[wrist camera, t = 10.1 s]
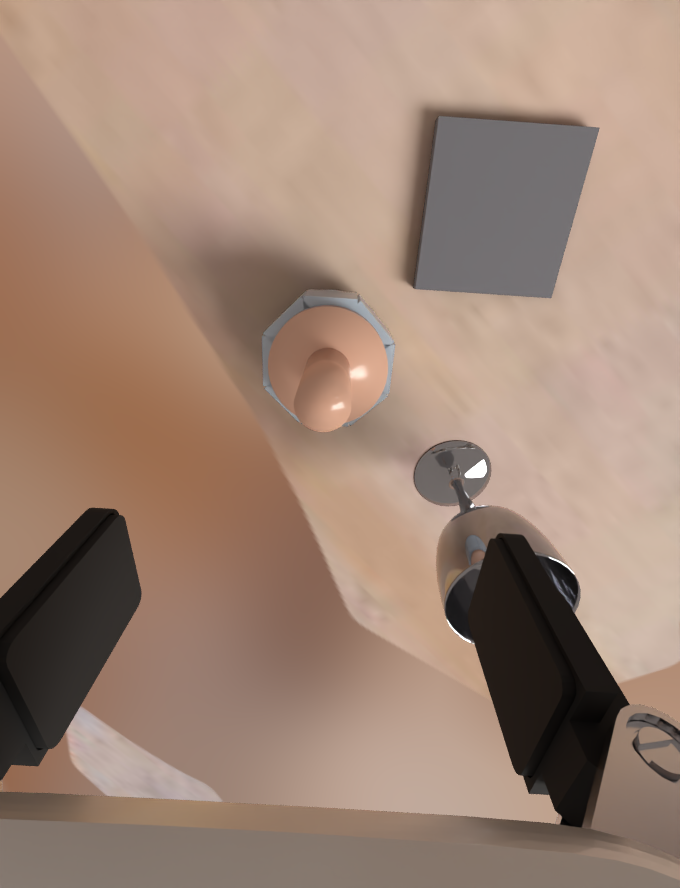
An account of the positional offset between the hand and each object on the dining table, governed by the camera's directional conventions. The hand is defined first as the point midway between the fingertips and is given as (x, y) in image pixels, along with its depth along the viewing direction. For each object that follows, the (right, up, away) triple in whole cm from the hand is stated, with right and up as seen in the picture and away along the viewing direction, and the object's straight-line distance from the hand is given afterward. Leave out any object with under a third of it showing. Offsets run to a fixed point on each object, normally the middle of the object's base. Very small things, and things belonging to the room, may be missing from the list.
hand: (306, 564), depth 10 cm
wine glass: (+11, 0, +27) cm, 29 cm away
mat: (+12, +19, +17) cm, 28 cm away
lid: (0, +9, +17) cm, 19 cm away
